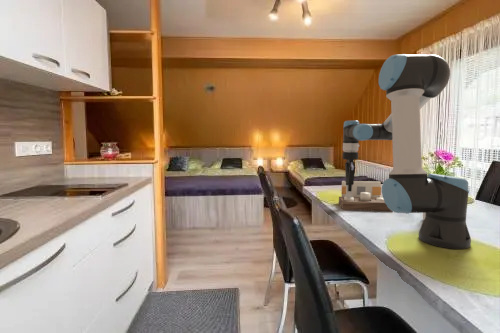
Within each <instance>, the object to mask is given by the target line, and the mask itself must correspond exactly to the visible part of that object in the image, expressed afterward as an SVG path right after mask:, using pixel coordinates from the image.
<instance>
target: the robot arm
mask: <svg viewBox="0 0 500 333" xmlns="http://www.w3.org/2000/svg"><path fill="white" fill-rule="evenodd" d="M450 76H451V68H450V66H449V63H448V62H447V60H446V59H444V57H441V56H440V55H437V54H406V53H402V54H392V55H390V56H388V58H386V59H385V61H384V62H383V64H382V66H381V68H380V72H379V74H378V85H379V88H380V90H382V91H385V94H386V95H385V96H386V98H387V99H388V100H390V102H391V103H390V106H391V108H390V109H391V112H390V114H389V116H388V117H386V119H385V121H383V122H382V123H360V121H359V120H345V121H344V122H343V127H342V129H343V130H342V131H343V134H342V151H343V152H342V159H343V160H345V164H344V166H345V168H344V169H345V172H344V173H345V180H344V181H345V182H346V197H348V198H352V185H353V184H354V181H355V171H356V165H355V163H356V162H355V161H357V160H358V159H359V152H358V151H359V148H360V146H361V145H360V143H359V141H360V142H361V141H363V142H364V141H392V166H393V167H392V168H393V169H392V170H391V171H390V172H388V178H387V179H385V180H384V181H382V182H383V183H382V184H381V185H382V186H381V195H382V198H383V199H384V202H385V204H386V205H387V207H388V208H389V209H390V210H391V211H390V212H394V213H397V214H408V215H409V214H411V213H413V214H417V213H418V214H423V213H426V216H425V219H424V220H423V222H422V223H421V226H420V228H419V230H418V239H419V240H420V241H422V242H424V243H425V244H427V245H431V246H435V247H440V248H444V249H452V250H453V249H454V250H463V249H468V248H471V246H472V245H471V243H472V238H471V235H470V232H469V228H468V226H467V213H468V212H467V210H468V200H469V193H470V190H469V181H468V180H467V179H465V178H462V177H457V176H452V175H445V174H438V173H429V174H428V172H427V171H426V170H425V169H423V167H422V166H423V164H422V136H421V133H422V132H421V109H422V108H424V106H425V105H426V104H427V103H428V102H429V101H430V100H431V99H434V98H437V97H439V95H440V94H441V93H442V92H443V91H444V89H446V87H447V85H448V83H449V81H450V78H451V77H450Z"/></svg>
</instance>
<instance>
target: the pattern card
mask: <svg viewBox="0 0 500 333" xmlns="http://www.w3.org/2000/svg"><path fill="white" fill-rule="evenodd" d="M345 181H346V180H342V181H341V195H340V197H346V182H345ZM381 183H382V182H381V181H375V180H373V181H372V180H371V181H370V180H368V181H365V180H364V181H362V180H359V181H358V180H354V184H353V185H352V197H360V193H361V192H368V193H370V197H374V198H379V197H380V198H381V195H382V186H381V185H382V184H381Z"/></svg>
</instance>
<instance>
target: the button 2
mask: <svg viewBox="0 0 500 333" xmlns="http://www.w3.org/2000/svg"><path fill="white" fill-rule="evenodd" d="M360 200H361V201H370V193H368V192H361V193H360Z"/></svg>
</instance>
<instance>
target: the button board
mask: <svg viewBox="0 0 500 333" xmlns="http://www.w3.org/2000/svg"><path fill="white" fill-rule="evenodd" d="M353 198H354V201H350V200H344V197H341V196H338V205H339V207H340V208H341V209H342V211H343V210H344V211H377V212H381V211H382V212H392V211H391V210H390V209H389V208H388V207H387V205H386V204H385V202H384V201H377V200H376V198H374V197H370V201H361V200H360V197H353Z"/></svg>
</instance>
